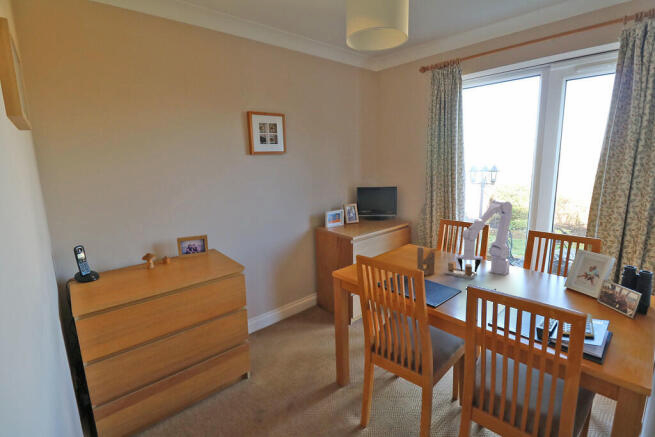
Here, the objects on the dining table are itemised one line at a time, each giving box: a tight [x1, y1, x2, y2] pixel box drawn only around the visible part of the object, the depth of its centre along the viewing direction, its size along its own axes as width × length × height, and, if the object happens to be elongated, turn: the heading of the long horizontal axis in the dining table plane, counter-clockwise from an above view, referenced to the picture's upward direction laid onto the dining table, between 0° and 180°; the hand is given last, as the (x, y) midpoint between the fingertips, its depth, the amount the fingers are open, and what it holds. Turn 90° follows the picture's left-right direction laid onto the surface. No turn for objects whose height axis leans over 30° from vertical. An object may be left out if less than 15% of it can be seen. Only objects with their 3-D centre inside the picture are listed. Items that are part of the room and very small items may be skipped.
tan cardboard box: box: [464, 263, 473, 276], centre depth 184 cm, size 3×4×6 cm
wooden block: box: [416, 246, 436, 277], centre depth 188 cm, size 4×11×18 cm, turn 106°
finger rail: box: [446, 260, 478, 280], centre depth 186 cm, size 15×8×6 cm, turn 45°
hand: (468, 271), depth 183 cm, fingers open, 7 cm apart
